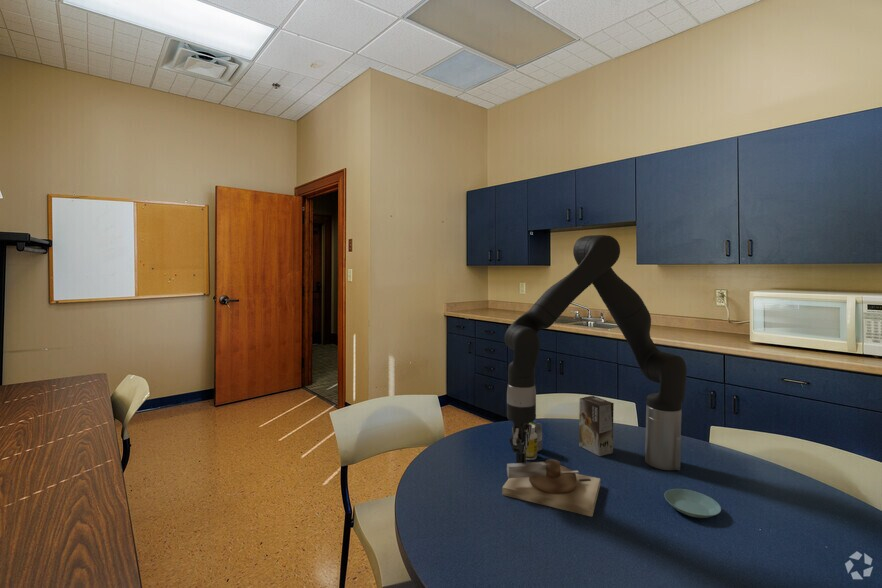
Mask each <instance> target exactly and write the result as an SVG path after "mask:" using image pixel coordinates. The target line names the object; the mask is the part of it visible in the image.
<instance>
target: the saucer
mask: <svg viewBox="0 0 882 588" xmlns="http://www.w3.org/2000/svg"><path fill="white" fill-rule="evenodd" d="M663 496H664V499H665V500H666V501H667V503H668V504H669V505H670V506H671V507H672V508H674V509H675V510H676V511H678V512H680V513H681V514H683V515H685V516H687V517H691V518H695V519H696V518H697V519H706V518H707V519H708V518H713V517H715V516H716V515H718V514H720V513H721V511H722V507H721V505H720V504H719V503H718V502H717V501H716V500H715V499H713V498H712V497H711V496H708V495H707V494H703V493H701V492H698V491H695V490H691V489H686V488H685V489H684V488H672V489H667V490H666V491H665V492H664V494H663Z"/></svg>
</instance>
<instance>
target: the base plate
mask: <svg viewBox="0 0 882 588" xmlns="http://www.w3.org/2000/svg"><path fill="white" fill-rule="evenodd" d="M575 474H576V488H575V489H574V490H572V491H570V492H567V493H549V492H545V491H542V490H539V489H537V488H536V487H534V486H533V485H532V484H531V483H530V481H529V477H523V478H507V480H506V481H505V483H504V484H503V486H502V487H501V488H502V489H501V490H502V491H501V492H502V493H501V495H502V496H506V497H510V498H512V499H513V498H514V499H517V500H522V501H526V502H530V503H534V504H538V505H542V506H547V507H551V508H555V509H558V510H563V511H567V512H570V513H575V514H580V515H583V516H588V517H592V518H593V516H594V512H595V508H596V503H597V500H598V497H599V493H600V492H599V491H600V488H601V478H600V477H595V476H590V475H585V474H580V473H575Z"/></svg>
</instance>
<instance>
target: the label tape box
mask: <svg viewBox="0 0 882 588" xmlns="http://www.w3.org/2000/svg"><path fill="white" fill-rule="evenodd" d="M529 424H533V425H535V433H536V434H537V453H538V452H541V451H542V450H543V424H542V423H540V422H537V418H536V419H535V420H534V421H533V422H530V423H529Z"/></svg>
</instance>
